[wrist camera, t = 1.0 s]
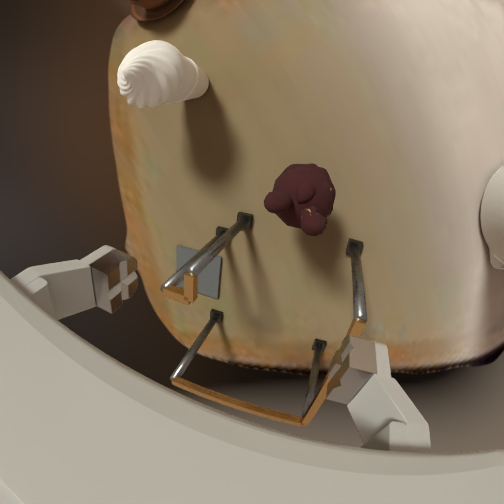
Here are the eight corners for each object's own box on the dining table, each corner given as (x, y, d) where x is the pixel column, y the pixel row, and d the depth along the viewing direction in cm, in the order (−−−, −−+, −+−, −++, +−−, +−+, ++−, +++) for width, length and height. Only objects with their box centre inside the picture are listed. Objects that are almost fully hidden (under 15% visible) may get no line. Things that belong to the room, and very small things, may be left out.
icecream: (345, 173, 33) (352, 199, 20) (319, 220, 37) (307, 272, 24) (298, 147, 33) (273, 156, 20) (274, 195, 37) (237, 233, 24)
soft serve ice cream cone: (164, 102, 36) (84, 99, 22) (184, 53, 31) (108, 29, 18) (209, 119, 35) (135, 118, 21) (232, 66, 31) (167, 35, 17)
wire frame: (362, 241, 36) (375, 316, 21) (323, 349, 46) (308, 430, 31) (220, 207, 40) (153, 255, 25) (211, 317, 50) (166, 383, 35)
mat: (221, 256, 44) (220, 258, 43) (218, 297, 47) (217, 298, 47) (178, 244, 45) (176, 246, 45) (178, 284, 49) (176, 285, 48)
